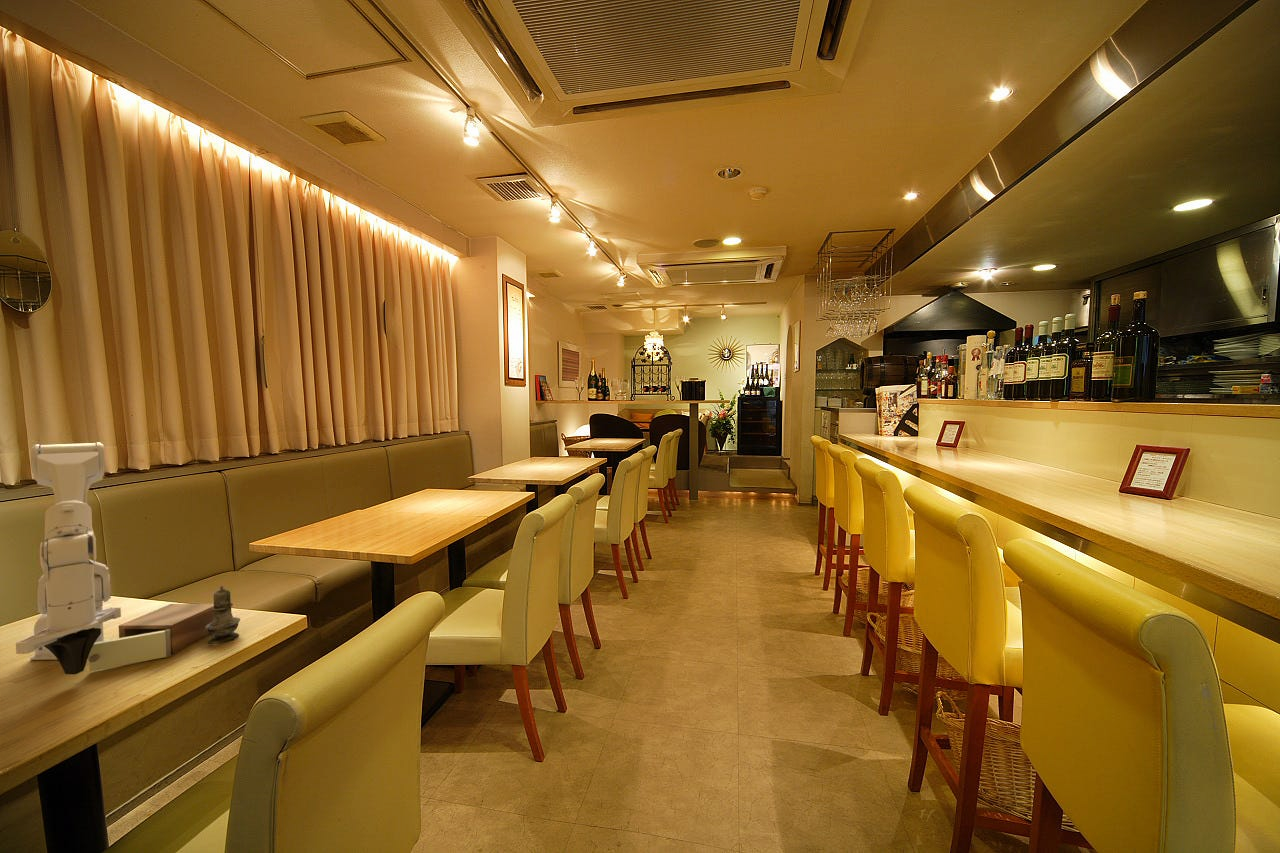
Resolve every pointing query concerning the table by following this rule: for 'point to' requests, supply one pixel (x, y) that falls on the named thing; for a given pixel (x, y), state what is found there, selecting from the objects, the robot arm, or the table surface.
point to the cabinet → (173, 624)
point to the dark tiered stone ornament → (222, 619)
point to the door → (130, 650)
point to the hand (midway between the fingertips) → (74, 672)
